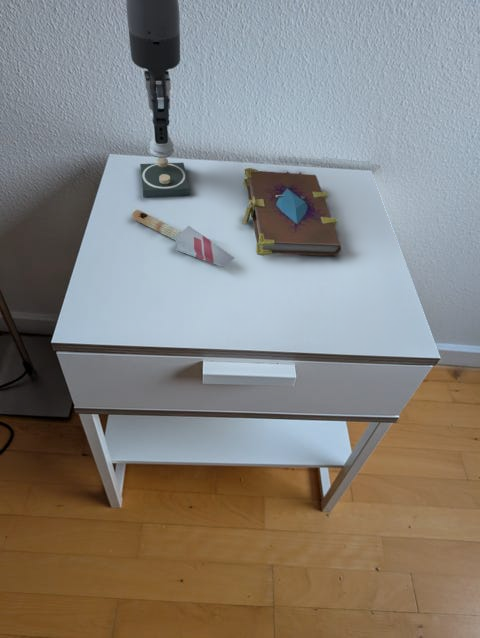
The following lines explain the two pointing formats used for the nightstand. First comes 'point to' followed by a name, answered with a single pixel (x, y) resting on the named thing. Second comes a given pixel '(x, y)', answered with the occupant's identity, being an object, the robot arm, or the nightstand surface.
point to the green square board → (156, 188)
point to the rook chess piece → (161, 146)
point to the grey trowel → (187, 240)
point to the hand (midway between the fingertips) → (160, 136)
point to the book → (290, 214)
